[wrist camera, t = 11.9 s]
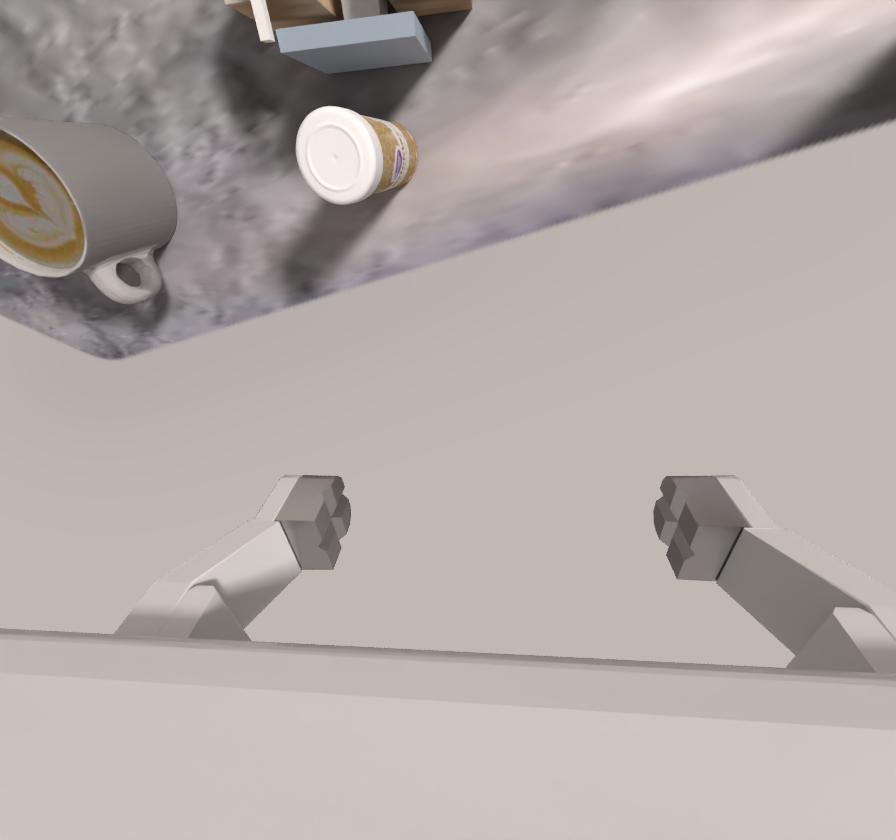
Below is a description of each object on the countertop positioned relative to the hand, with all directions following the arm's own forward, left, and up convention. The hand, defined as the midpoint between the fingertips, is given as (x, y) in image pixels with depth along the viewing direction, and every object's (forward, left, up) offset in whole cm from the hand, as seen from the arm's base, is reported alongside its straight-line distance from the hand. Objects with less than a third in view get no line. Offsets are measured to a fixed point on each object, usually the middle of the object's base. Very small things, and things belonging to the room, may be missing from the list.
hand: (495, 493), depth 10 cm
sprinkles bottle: (+8, -8, -31) cm, 33 cm away
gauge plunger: (+8, -15, -31) cm, 35 cm away
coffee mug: (+33, -5, -31) cm, 46 cm away
